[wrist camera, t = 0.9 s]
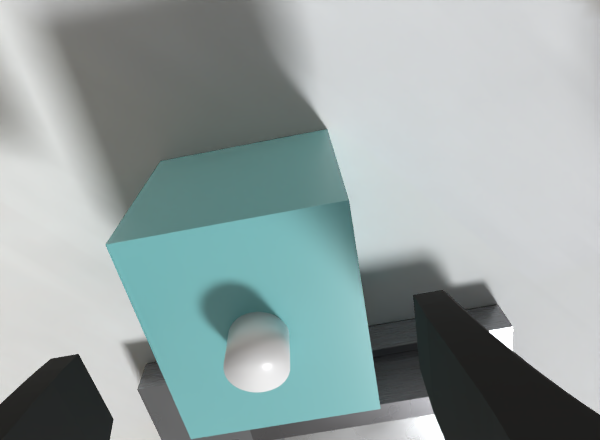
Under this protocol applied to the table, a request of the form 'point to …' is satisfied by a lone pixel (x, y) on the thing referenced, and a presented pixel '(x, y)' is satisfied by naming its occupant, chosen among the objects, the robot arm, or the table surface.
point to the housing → (250, 285)
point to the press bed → (351, 427)
